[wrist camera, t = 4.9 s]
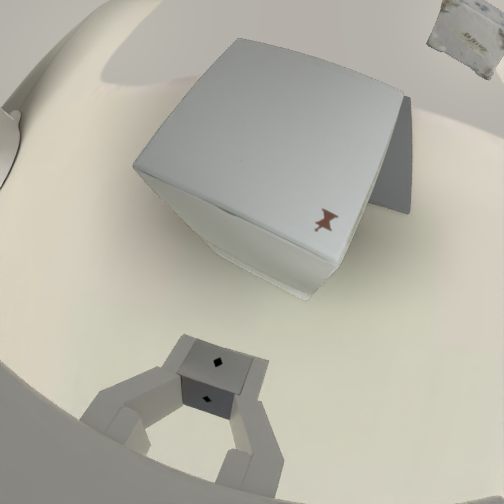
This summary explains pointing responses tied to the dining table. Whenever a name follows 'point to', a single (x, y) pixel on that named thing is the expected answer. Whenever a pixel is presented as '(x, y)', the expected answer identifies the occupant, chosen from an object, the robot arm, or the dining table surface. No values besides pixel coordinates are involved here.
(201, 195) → the supplement box
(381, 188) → the mat
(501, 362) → the dining table surface
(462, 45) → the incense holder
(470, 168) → the dining table surface
